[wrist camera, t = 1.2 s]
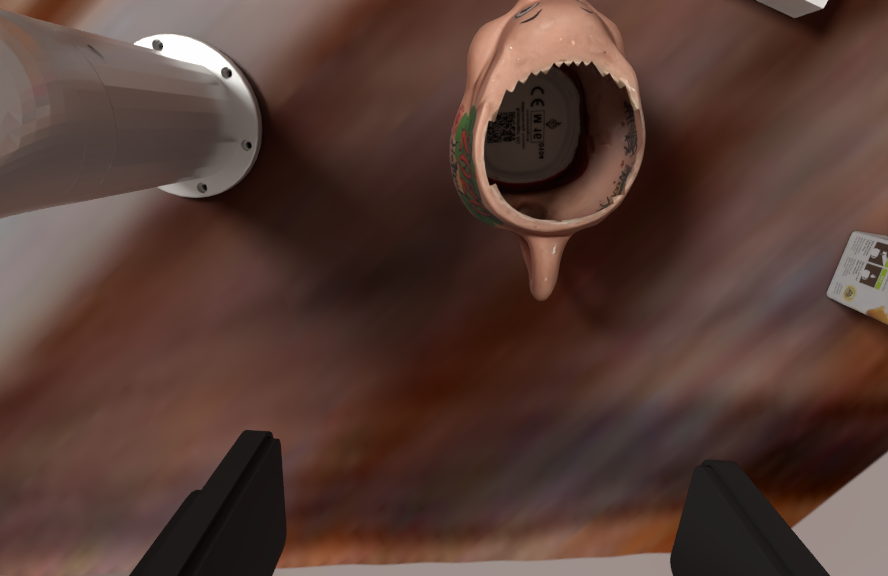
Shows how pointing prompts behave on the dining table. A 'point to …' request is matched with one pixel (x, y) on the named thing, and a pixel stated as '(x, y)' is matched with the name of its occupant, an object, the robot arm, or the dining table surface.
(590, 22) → the decorative planter
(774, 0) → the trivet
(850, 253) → the coffee box
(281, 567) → the dining table surface
